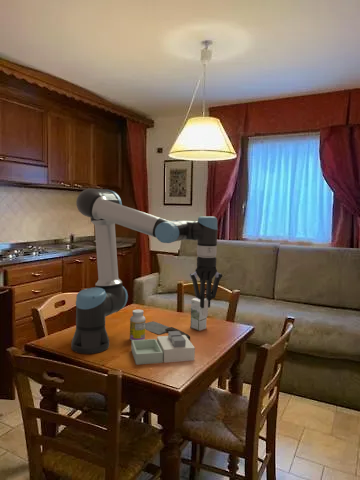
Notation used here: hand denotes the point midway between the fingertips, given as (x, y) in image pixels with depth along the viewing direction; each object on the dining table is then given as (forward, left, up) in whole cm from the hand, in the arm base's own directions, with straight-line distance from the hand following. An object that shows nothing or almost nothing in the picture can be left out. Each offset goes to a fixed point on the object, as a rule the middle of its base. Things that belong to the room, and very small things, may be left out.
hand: (204, 315), depth 146 cm
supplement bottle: (-23, +21, -17) cm, 36 cm away
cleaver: (-9, +29, -17) cm, 35 cm away
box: (-22, +3, -16) cm, 28 cm away
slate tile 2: (-10, +6, -11) cm, 16 cm away
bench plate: (-11, +3, -16) cm, 20 cm away
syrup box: (+8, +31, -17) cm, 36 cm away
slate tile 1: (-10, 0, -11) cm, 15 cm away
